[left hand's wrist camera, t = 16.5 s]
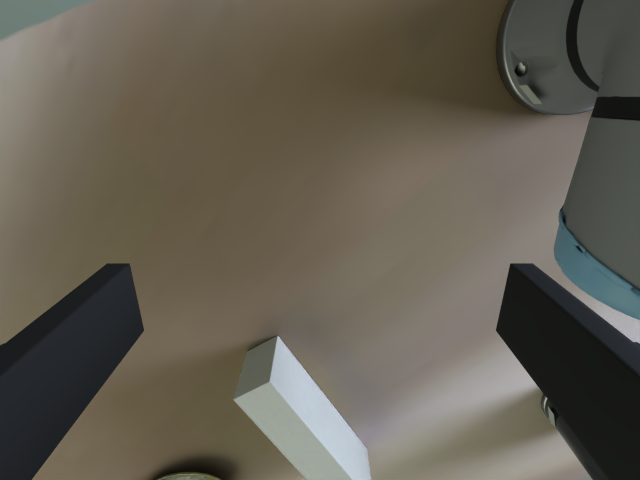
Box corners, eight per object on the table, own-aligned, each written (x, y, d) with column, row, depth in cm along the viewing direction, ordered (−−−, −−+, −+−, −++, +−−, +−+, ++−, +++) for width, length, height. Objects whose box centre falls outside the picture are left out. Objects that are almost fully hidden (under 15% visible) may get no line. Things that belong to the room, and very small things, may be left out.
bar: (246, 351, 52) (232, 399, 44) (277, 335, 51) (269, 381, 42) (338, 460, 60) (341, 518, 52) (367, 448, 59) (374, 506, 51)
